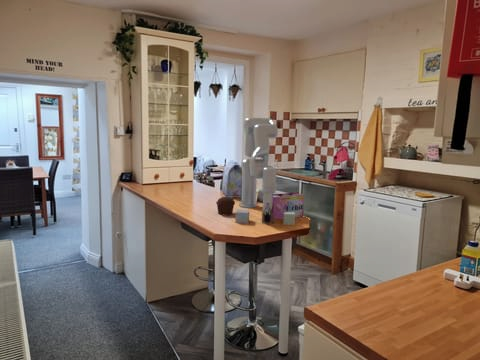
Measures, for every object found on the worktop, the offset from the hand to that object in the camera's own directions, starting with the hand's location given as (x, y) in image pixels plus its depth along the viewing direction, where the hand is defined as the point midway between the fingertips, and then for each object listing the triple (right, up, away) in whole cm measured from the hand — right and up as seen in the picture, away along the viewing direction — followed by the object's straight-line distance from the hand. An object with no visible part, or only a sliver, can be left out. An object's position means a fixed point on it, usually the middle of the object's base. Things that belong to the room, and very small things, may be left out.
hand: (267, 219), depth 203 cm
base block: (-14, -1, 0) cm, 14 cm away
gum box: (+11, 0, +13) cm, 17 cm away
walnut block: (0, -1, 0) cm, 2 cm away
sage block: (+12, -2, -1) cm, 12 cm away
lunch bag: (-20, +10, +73) cm, 76 cm away
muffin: (-24, +2, +17) cm, 30 cm away
